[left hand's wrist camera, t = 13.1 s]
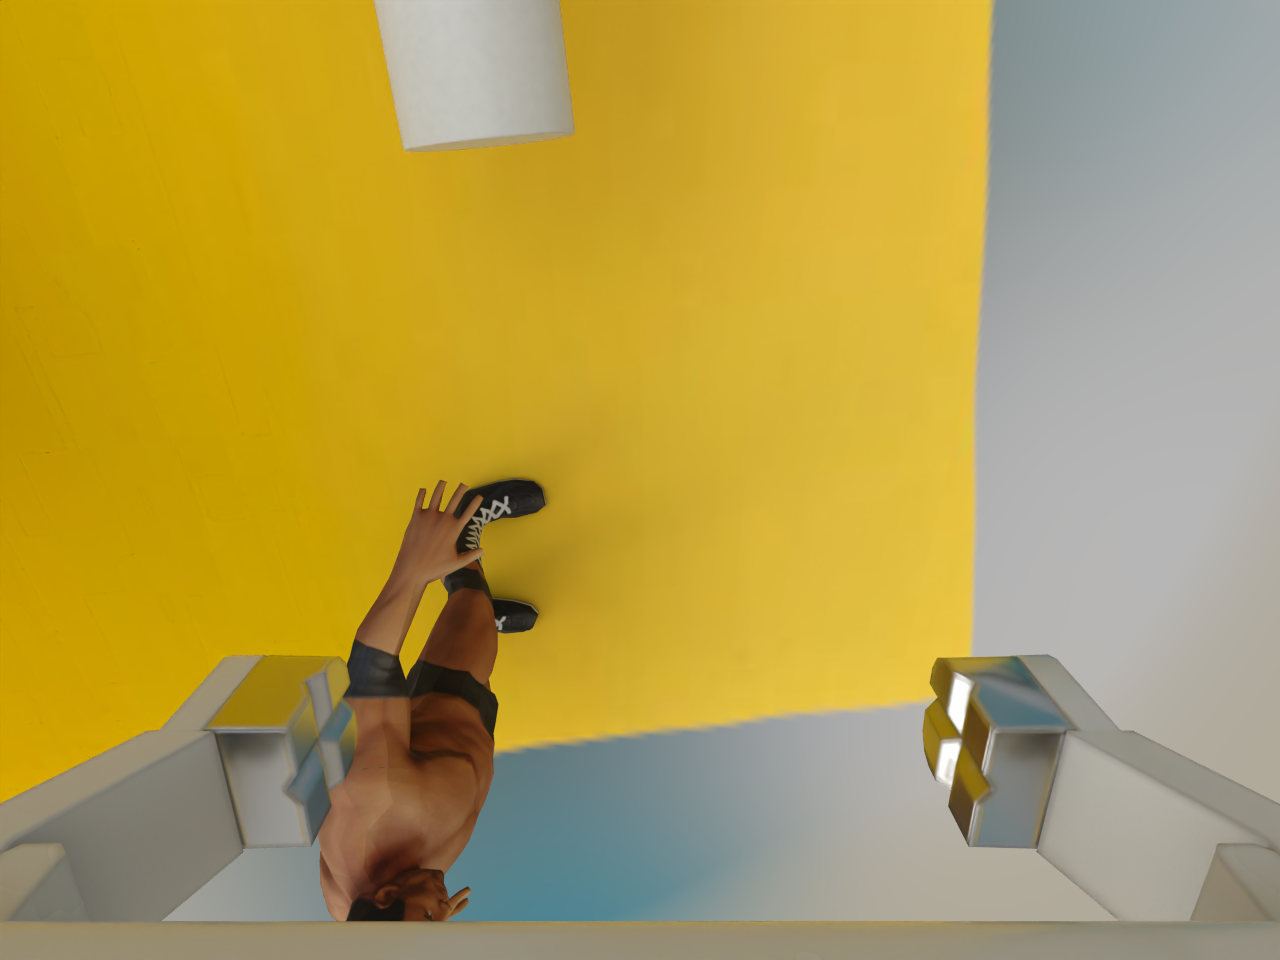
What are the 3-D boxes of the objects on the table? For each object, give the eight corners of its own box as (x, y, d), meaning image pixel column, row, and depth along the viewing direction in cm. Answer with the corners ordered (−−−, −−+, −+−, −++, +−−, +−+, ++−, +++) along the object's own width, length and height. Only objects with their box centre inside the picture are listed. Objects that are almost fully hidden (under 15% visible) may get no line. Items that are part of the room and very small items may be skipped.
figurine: (536, 704, 56) (435, 1213, 29) (451, 697, 56) (265, 1202, 28) (558, 387, 48) (445, 671, 20) (458, 377, 48) (198, 649, 20)
